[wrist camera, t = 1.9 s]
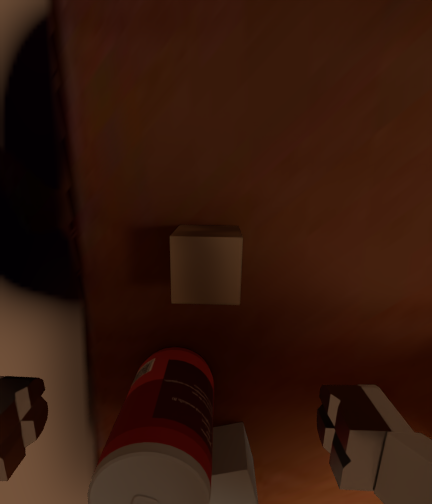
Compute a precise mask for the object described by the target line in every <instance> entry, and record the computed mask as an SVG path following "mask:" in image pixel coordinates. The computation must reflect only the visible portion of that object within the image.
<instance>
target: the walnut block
mask: <svg viewBox="0 0 432 504" xmlns="http://www.w3.org/2000/svg"><path fill="white" fill-rule="evenodd" d="M242 245H243V237H242V234H241V231H240V229H239V226H217V225H179V226H178V227H177V229H176V230H175V231H174V232H173V233H172V234H171V235H170V266H171V303H178V304H220V305H240V292H241V269H242Z"/></svg>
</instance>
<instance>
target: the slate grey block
mask: <svg viewBox="0 0 432 504" xmlns="http://www.w3.org/2000/svg"><path fill="white" fill-rule="evenodd" d="M209 504H258V498H257V489H256V480H255V472H254V463H253V457H252V453H251V450H250V446H249V442H248V438H247V435H246V431H245V427H244V424H243V422H240V423H234V424H229V425H224V426H218V427H213V448H212V478H211V497H210V503H209Z"/></svg>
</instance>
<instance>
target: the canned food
mask: <svg viewBox="0 0 432 504" xmlns="http://www.w3.org/2000/svg"><path fill="white" fill-rule="evenodd" d="M213 407H214V381H213V376H212V373H211V371H210V368H209V366H208V365H207V363H206V362H205V360H204V359H203V358H202V357H201V356H200V355H198V354H197V353H195V352H193V351H191V350H189V349H185V348H181V347H170V348H165V349H162V350H159V351H157V352H155V353H153V354H152V355H151V356H150V357H149V358H148V359H146V360H145V361H144V362H143V364H142V365H141V366H140V368H139V370H138V372H137V374H136V376H135V379H134V381H133V383H132V385H131V388H130V390H129V392H128V395H127V397H126V399H125V401H124V404H123V406H122V408H121V411H120V413H119V415H118V417H117V420H116V422H115V424H114V426H113V429H112V431H111V433H110V436H109V438H108V440H107V442H106V445H105V447H104V449H103V452H102V454H101V456H100V458H99V461H98V464H97V466H96V469H95V471H94V473H93V476H92V480H91V483H90V485H89V490H88V504H209V503H210V497H211V478H212V448H213Z"/></svg>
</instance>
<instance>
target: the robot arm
mask: <svg viewBox="0 0 432 504" xmlns="http://www.w3.org/2000/svg"><path fill="white" fill-rule="evenodd" d="M44 391H45V387H44V382H43V380H42V379H40V378H33V377H14V376H5V377H4V376H0V481H8V480H9V478H10V477H11V475H12V474H13V472H14V471H15V470H16V468H17V467H18V465H19V464H20V463H21V461H22V460H23V458H24V457H25V455H26V454H25V447H27V446H28V445H30V444H31V443H33V442H34V441H35V440H37V438H38V437H39V435H40V434H41V432H42V431H43V429H44V426H45V423H46V421H47V416H48V405H47V402H46V401H45V400H44V399H43V398H42V397H41V395H42V394H43V392H44ZM319 397H320V399H321V401H322V403H323V404H322V405H321V406H320V407H319V408H318V410H317V429H318V433H319V437H320V440H321V443H322V446H323V447H324V448H325V449H326V450H327V451H328V452H329V453H330V461H329V464H330V466H331V469H332V471H333V474H334V476H335V479H336V481H337V484H338V486H339V489H345V490H363V491H374V494H375V495H376V496H377V497H378V498H379V499H380V500H381V501H382V502H383V503H384V504H432V440H431V439H430V438H428V437H426V436H425V435H423V434H422V433H415V432H414V431H413V430H412V429H411V427H410V426H409V425H408V423H407V422H406V421H405V420H404V418H403V417H402V416H401V415H400V413H399V412H398V411H397V409H396V408H395V407H394V406H393V404H392V403H391V402H390V401H389V399H388V398H387V397H386V395H385V394H384V393H383V392H382V390H381V389H380V388H379V387H378V386H376V385H322V387H321V389H320V395H319Z"/></svg>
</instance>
